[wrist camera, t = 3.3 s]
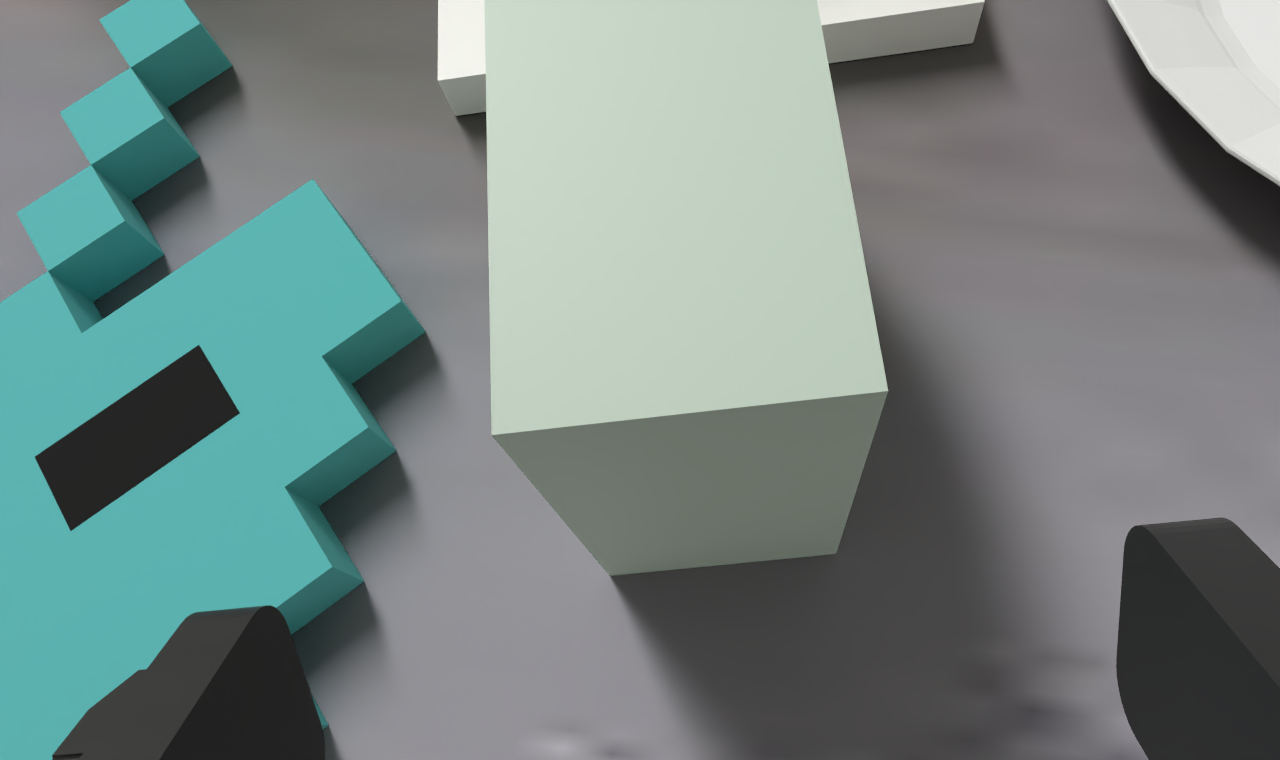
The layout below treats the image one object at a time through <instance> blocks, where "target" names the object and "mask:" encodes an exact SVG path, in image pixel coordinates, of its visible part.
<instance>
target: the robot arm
mask: <svg viewBox="0 0 1280 760" xmlns="http://www.w3.org/2000/svg"><path fill="white" fill-rule="evenodd" d="M1116 667H1117V680H1118V686H1119V692H1120V696H1121V701H1122V704H1123V708H1124V711H1125V714H1126V717H1127V719H1128V722H1129V724H1130V727H1131V729H1132V731H1133V733H1134V735H1135V737H1136V739H1137V740H1138V742H1139V744H1140V745H1141V747H1142V749H1143V750H1144V752H1145V754H1146V755H1147V757H1148V759H1149V760H1280V568H1279V567H1278V566H1277V565H1276V564H1275V563H1274V562H1273V561H1272V560H1271V559H1270V558H1269V557H1268V556H1267V555H1266V554H1265V553H1264V552H1263V551H1262V550H1261V549H1260V548H1259V547H1258V546H1257V545H1256V544H1255V543H1254V542H1253V541H1252V540H1251V539H1250V538H1249V537H1248V536H1247V535H1246V534H1245V533H1244V532H1243V531H1242V530H1241V529H1240V528H1239V527H1238V526H1237V525H1236V524H1234V523H1233V522H1232V521H1230V520H1228V519H1226V518H1212V519H1202V520H1191V521H1181V522H1170V523H1159V524H1149V525H1139V526H1134V527H1133V528H1131V530H1130V531H1129V533H1128V535H1127V537H1126V541H1125V546H1124V557H1123V572H1122V587H1121V601H1120V616H1119V631H1118V646H1117V664H1116ZM52 758H53V759H52V760H325V741H324V734H323V729H322V725H321V722H320V719H319V716H318V713H317V710H316V707H315V704H314V701H313V698H312V695H311V692H310V689H309V686H308V683H307V680H306V677H305V674H304V671H303V668H302V666H301V663H300V660H299V657H298V654H297V651H296V648H295V645H294V642H293V639H292V636H291V633H290V630H289V627H288V625H287V622H286V620H285V618H284V616H283V615H282V613H281V612H280V611H279V610H278V609H277V608H275V607H274V606H270V605H267V606H256V607H245V608H235V609H224V610H214V611H203V612H195V613H193V614H191V615H189V616H188V617H186V618H185V619H184V621H183V622H182V623H181V624H180V625H179V627H178V628H177V629H176V631H175V632H174V633H173V635H172V636H171V637H170V639H169V640H168V641H167V643H166V644H165V645H164V647H163V648H162V649H161V651H160V652H159V653H158V655H157V656H156V657H155V659H154V660H153V661H152V663H151V664H150V665H149V667H148V668H147V669H143V670H138V671H137V672H135V673H134V674H133V675H132V676H130V677H129V678H128V679H127V680H125V681H124V682H123V683H121V684H120V685H119V686H118V687H116V688H115V689H114V690H113V691H111V692H110V693H109V694H108V695H106V696H105V697H104V698H102V699H101V700H100V701H99V702H97V703H96V704H95V705H94V706H92V707H91V708H90V709H89V710H88V711H87V712H86V713H85V714H84V716H83V717H82V718H81V719H80V721H79V722H78V723H77V724H76V726H75V727H74V728H73V730H72V731H71V732H70V733H69V735H68V736H67V737H66V738H65V740H64V741H63V742H62V743H61V745H60V746H59V747H58V748H57V750H56V751H55V752H54V754H53V755H52Z"/></svg>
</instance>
